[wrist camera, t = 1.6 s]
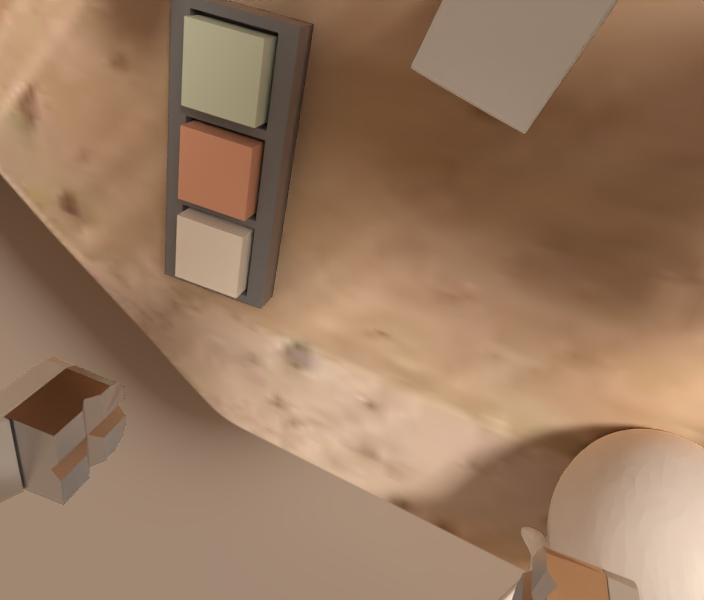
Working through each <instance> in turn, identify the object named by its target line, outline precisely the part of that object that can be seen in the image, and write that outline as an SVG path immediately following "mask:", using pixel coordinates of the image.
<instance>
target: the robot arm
mask: <svg viewBox="0 0 704 600" xmlns="http://www.w3.org/2000/svg"><path fill="white" fill-rule="evenodd" d="M124 399H125V395H124V386H122V385H120V384H118V383H116V382H114V381H111V380H109V379H107V378H104V377H102V376H100V375H97V374H95V373H92V372H90V371H88V370H85V369H83V368H80V367H78V366H76V365H73V364H70V363H68V362H65V361H62V360H60V359H58V358H55V357H51V358H47V359H44V360H42V361H41V362H39V363H38V364H37V365H35V366H34V367H32V368H31V369H30V370H28V371H27V372H26V373H24V374H23V375H21V376H20V377H19V378H17V379H16V380H15V381H13V382H12V383H10V384H9V385H8V386H6V387H5V388H3V389H2V390H1V391H0V502H2V501H5V500H6V499H9V498H11V497H13V496H15V495H17V494H20V493H22V492H23V489H25V490H27V491H30V492H33V493H35V494H38V495H40V496H43V497H45V498H48V499H50V500H53V501H55V502H58V503H60V504H63V505H64V504H65V503H66V502H67V501H68V500H69V499H70V498H71V497H72V496H73V494H74V493H75V492H76V491H77V490H78V489H79V488H80V487H81V486H82V485H83V484H84V483H85V482H86V481H87V480H88V479H89V474H90V466H93V465H96V464H98V463H101V462H104V461H106V460H107V459H108V457H109V456H110V455H111V454H112V453H113V452H114V451H115V450H116V447H117V446H118V444H119V442H120V441H121V439H122V437H123V434H124V430H125V425H126V416H125V414H124V413H123V411H122V409H121V408H120V406H119V404H120V403H121V402H122V401H123V400H124ZM512 600H640V596H639V590H638V587H637V585H636V583H635V582H634V581H633V580H630V579H627V578H625V577H622V576H620V575H617V574H614V573H612V572H609V571H607V570H604V569H601V568H600V567H597V566H595V565H592V564H589V563H587V562H584V561H581V560H579V559H576V558H573V557H571V556H568V555H565V554H563V553H560V552H557V551H554V550H552V549H549V548H546V547H544V546H543V547H541V548H540V549H538V551H537V552H536V554H535V555H534V557H533V562H532V571H528V572H525V573H523V575H522V576H521V578H520V580H519V582H518V583H517V585H516V588H515V592H514V595H513V598H512Z"/></svg>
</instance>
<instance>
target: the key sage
mask: <svg viewBox="0 0 704 600" xmlns="http://www.w3.org/2000/svg"><path fill="white" fill-rule="evenodd" d="M276 43H277V36H274V35H270V34H266V33H263V32H259V31H256V30H252V29H249V28H245V27H242V26H238V25H235V24H231V23H228V22H224V21H221V20H217V19H214V18H210V17H206V16H203V15H191V16H184V36H183V65H182V93H181V105H182V106H185V107H189V108H192V109H195V110H198V111H201V112H205V113H208V114H211V115H214V116H217V117H221V118H224V119H227V120H230V121H233V122H237V123H240V124H243V125H246V126H249V127H252V128H256V127H258V126H260V125H262V124H265V123H267V118H268V110H269V101H270V93H271V85H272V77H273V68H274V60H275V52H276Z"/></svg>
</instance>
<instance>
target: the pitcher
mask: <svg viewBox="0 0 704 600" xmlns="http://www.w3.org/2000/svg"><path fill="white" fill-rule="evenodd" d="M521 536H522V538H523V540H524V542H525V544H526V545H527V547H528V549H529V552H530V555H531V561H530V565H529V568H528V569H527V571H526V572H528V571H532V562H533V557H534V555H535V554H536V552H537V551H538V549H540V548H541V547H543V546H544V547H546V548H549V549H552V550H554V551H557V552H560V553H563V554H565V555H568V556H571V557H573V558H576V559H579V560H581V561H584V562H587V563H589V564H592V565H595V566H597V567H600V568H601V569H604V570H607V571H609V572H612V573H614V574H617V575H620V576H622V577H625V578H627V579H630V580H633V581H634V582H635V583H636V585H637V587H638V590H639V596H640V600H704V448H703V447H701V446H699V445H698V444H696V443H694V442H692V441H690V440H688V439H685V438H683V437H681V436H678V435H675V434H672V433H669V432H665V431H660V430H655V429H627V430H622V431H617V432H614V433H611V434H608V435H605V436H603V437H601V438H599V439H597V440H595V441H594V442H592V443H591V444H590V445H588V446H587V447H586V448H584V449H583V450H582V451H581V452H580V453H579V454H578V455H577V456H576V457H575V458H574V459H573V460H572V461H571V463H570V464H569V465H568V467H567V468H566V469H565V471H564V472H563V474H562V475H561V477H560V479H559V481H558V483H557V485H556V487H555V490H554V492H553V495H552V498H551V502H550V507H549V513H548V519H547V532H546V537H544V536H543V534H542V533H540V532H539V531H537V530H536V529H533V528H531V527H522V529H521ZM519 580H520V579H519ZM518 582H519V581H518ZM518 582H517V583H518ZM517 583H516V584H515V585H514V586H512V588H510V589H509V590H508V591H507V592H506V593H505V594H504V595H503V596H502V597H501V598H500V599H499V600H512V598H513V595H514V592H515V588H516V585H517Z"/></svg>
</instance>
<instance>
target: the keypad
mask: <svg viewBox="0 0 704 600" xmlns="http://www.w3.org/2000/svg"><path fill="white" fill-rule="evenodd" d="M191 15H203V16H206V17H210V18H214V19H217V20H221V21H224V22H228V23H231V24H235V25H238V26H242V27H245V28H249V29H252V30H256V31H259V32H263V33H266V34H270V35H274V36H277V43H276V52H275V60H274V68H273V77H272V85H271V93H270V101H269V110H268V118H267V123H265V124H262V125H260V126H258V127H256V128H252V127H249V126H246V125H243V124H240V123H237V122H233V121H230V120H227V119H224V118H221V117H217V116H214V115H211V114H208V113H205V112H201V111H198V110H195V109H192V108H189V107H185V106H182V105H181V93H182V65H183V36H184V16H191ZM313 25H314V24H310V23H307V22H303V21H299V20H296V19H292V18H288V17H285V16H281V15H278V14H274V13H270V12H267V11H263V10H260V9H256V8H252V7H249V6H245V5H241V4H238V3H234V2H231V1H227V0H171V28H170V72H169V115H168V158H167V202H166V245H165V274H167V275H170V276H173V277H175V278H178V279H181V280H184V279H182V278H179V277H176V276H175V265H176V236H177V215H178V214H180V213H181V212H183V211H185V210H186V209H188V208H190V207H191V208H194V209H197V210H200V211H203V212H206V213H209V214H212V215H215V216H218V217H221V218H223V219H226V220H229V221H232V222H235V223H238V224H241V225H244V226H247V227H250V228H253V229H254V234H253V242H252V251H251V259H250V267H249V276H248V284H247V288H246V289H245V290H244V291H243V292H242V293H241V294H240V295H239V296H238V297H237V298H233V297H231V296H228V295H225V294H222V293H220V292H217V291H214V290H212V289H209V288H206V287H203V286H201V285H198V284H195V283H192V282H190V281H187V280H184V281H186V282H189V283H192V284H194V285H197V286H200V287H203V288H205V289H208V290H211V291H214V292H216V293H219V294H222V295H224V296H227V297H230V298H233V299H235V300H238V301H241V302H244V303H246V304H249V305H252V306H254V307H257V308H260V309H261V308H262V307H263V306H264V305H265V304H266V303H267V302H268V300H269V299H270V298H271V297H272V295H273V289H274V282H275V275H276V269H277V262H278V256H279V249H280V243H281V236H282V229H283V223H284V216H285V210H286V203H287V196H288V190H289V183H290V177H291V170H292V164H293V157H294V150H295V144H296V137H297V131H298V124H299V118H300V111H301V104H302V98H303V91H304V85H305V78H306V71H307V65H308V58H309V52H310V45H311V39H312V32H313ZM193 120H197V121H201V122H204V123H207V124H210V125H213V126H216V127H220V128H223V129H226V130H229V131H232V132H235V133H239V134H242V135H245V136H248V137H251V138H254V139H257V140H261V141H264V142H265V143H264V151H263V160H262V168H261V176H260V184H259V193H258V201H257V209H256V213H255V214H253V215H252V216H251V217H249V218H248V219H247V220H246V221H242V220H239V219H237V218H234V217H231V216H228V215H225V214H222V213H219V212H216V211H213V210H210V209H207V208H204V207H202V206H199V205H196V204H193V203H190V202H187V201H184V200H181V199H178V179H179V151H180V125H182V124H185V123H188V122H190V121H193Z"/></svg>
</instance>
